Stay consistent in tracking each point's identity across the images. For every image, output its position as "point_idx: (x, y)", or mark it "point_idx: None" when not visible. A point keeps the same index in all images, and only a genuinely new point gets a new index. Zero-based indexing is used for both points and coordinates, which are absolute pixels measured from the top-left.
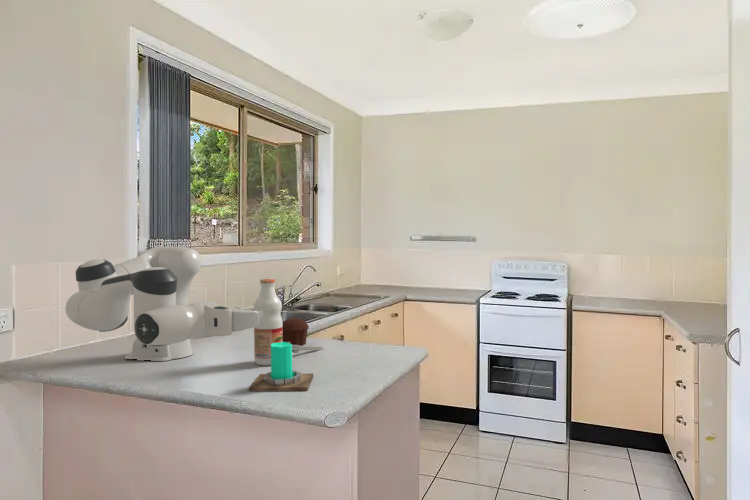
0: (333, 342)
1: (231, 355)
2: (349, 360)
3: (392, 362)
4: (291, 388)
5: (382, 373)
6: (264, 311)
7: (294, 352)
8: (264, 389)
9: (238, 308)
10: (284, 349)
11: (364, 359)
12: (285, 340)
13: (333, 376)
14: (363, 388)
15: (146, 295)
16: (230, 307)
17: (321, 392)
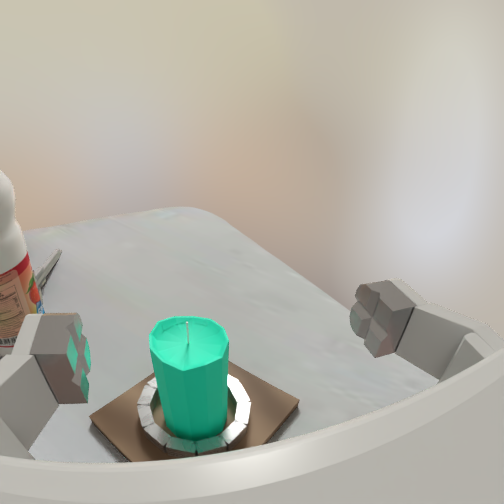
0: (53, 231)
1: None
2: (154, 263)
3: (222, 243)
4: (276, 429)
5: (270, 273)
6: None
7: (42, 285)
8: None
9: (414, 405)
10: (226, 354)
11: (171, 251)
12: None
13: (227, 323)
14: (341, 326)
15: None
16: (261, 487)
17: (327, 388)
